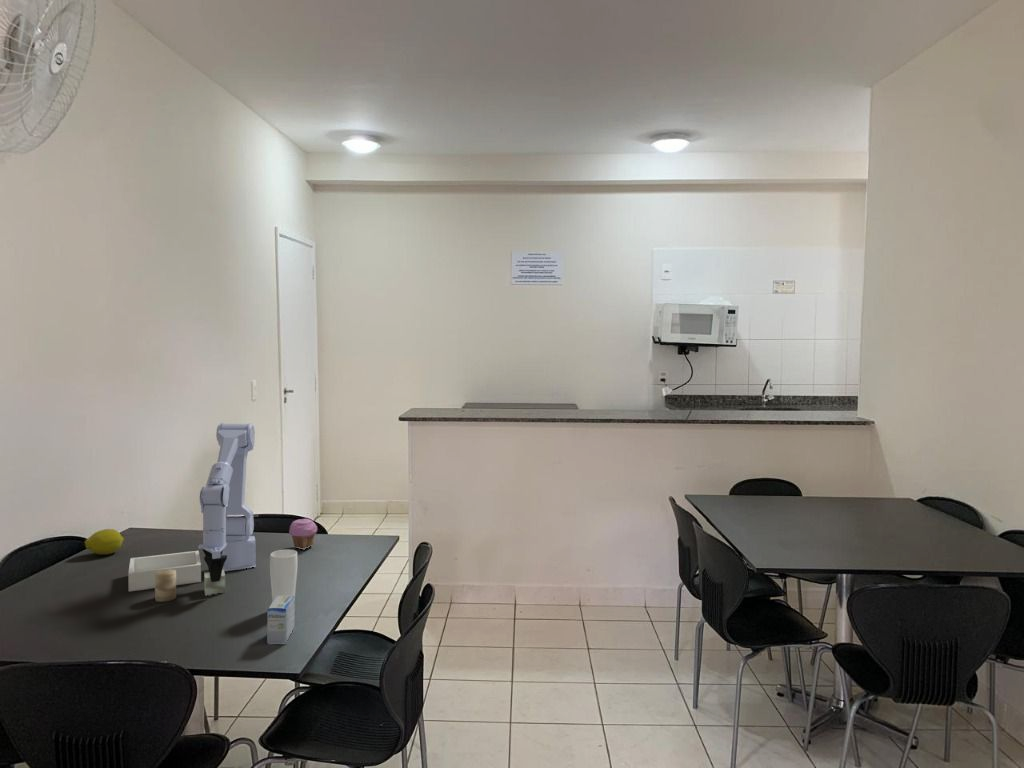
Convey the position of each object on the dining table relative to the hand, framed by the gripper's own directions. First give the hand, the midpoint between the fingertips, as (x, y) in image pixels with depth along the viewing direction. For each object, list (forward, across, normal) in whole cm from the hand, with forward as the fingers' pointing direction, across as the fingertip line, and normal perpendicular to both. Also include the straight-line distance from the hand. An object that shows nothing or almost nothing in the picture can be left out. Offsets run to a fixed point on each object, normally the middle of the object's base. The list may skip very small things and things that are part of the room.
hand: (214, 576), depth 183 cm
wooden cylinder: (+4, 0, -12) cm, 13 cm away
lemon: (+4, -47, -29) cm, 55 cm away
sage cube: (+4, 0, 0) cm, 4 cm away
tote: (+4, -16, -12) cm, 20 cm away
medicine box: (+4, +37, +12) cm, 39 cm away
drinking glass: (+4, +21, +15) cm, 26 cm away
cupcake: (+4, -29, +29) cm, 41 cm away
